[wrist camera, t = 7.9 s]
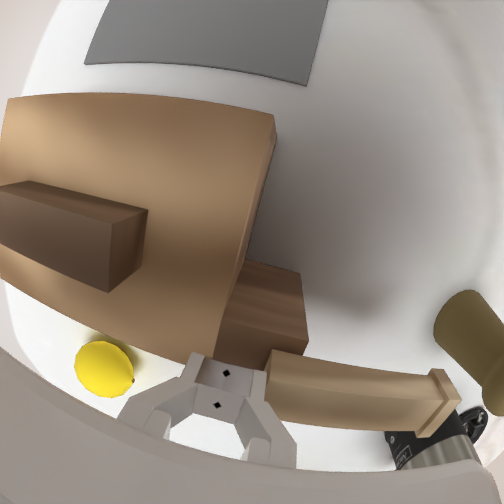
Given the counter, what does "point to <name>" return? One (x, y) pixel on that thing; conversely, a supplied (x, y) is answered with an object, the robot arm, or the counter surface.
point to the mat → (213, 35)
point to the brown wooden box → (261, 302)
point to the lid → (129, 211)
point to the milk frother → (439, 442)
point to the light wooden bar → (357, 395)
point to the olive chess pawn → (475, 343)
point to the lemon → (104, 369)
